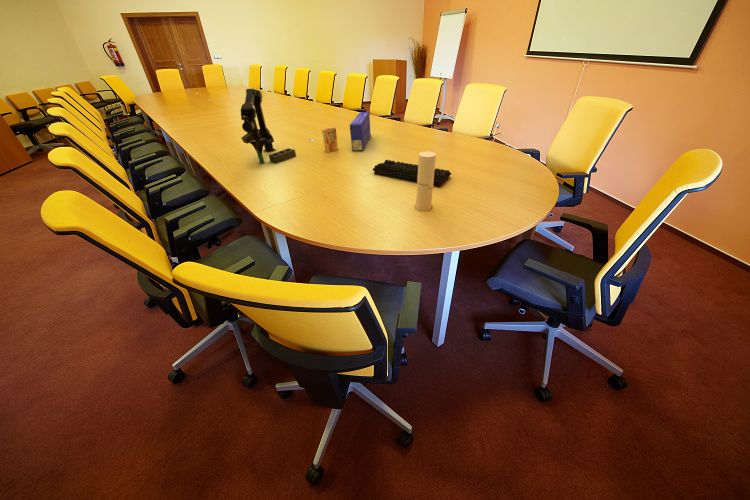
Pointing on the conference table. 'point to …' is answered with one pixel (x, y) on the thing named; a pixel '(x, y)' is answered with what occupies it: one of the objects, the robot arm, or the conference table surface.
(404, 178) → the keyboard
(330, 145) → the candy box
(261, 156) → the capped tube
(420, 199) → the cylindrical container
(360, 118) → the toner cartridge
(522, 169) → the conference table surface
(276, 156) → the organiser
